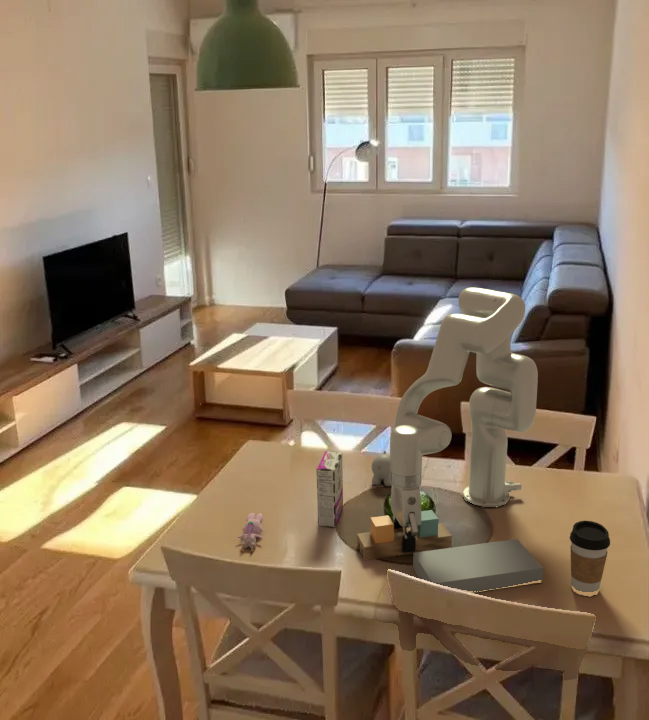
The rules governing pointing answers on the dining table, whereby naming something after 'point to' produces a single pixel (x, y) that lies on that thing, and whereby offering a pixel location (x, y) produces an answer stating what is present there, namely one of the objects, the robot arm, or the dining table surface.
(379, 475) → the round bodied animal figurine
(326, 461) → the candy bar box
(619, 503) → the dining table surface
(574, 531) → the coffee cup
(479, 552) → the dock
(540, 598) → the dining table surface
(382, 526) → the orange cube
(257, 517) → the rabbit figure
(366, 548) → the brown wooden block
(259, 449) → the dining table surface
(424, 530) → the teal cube
